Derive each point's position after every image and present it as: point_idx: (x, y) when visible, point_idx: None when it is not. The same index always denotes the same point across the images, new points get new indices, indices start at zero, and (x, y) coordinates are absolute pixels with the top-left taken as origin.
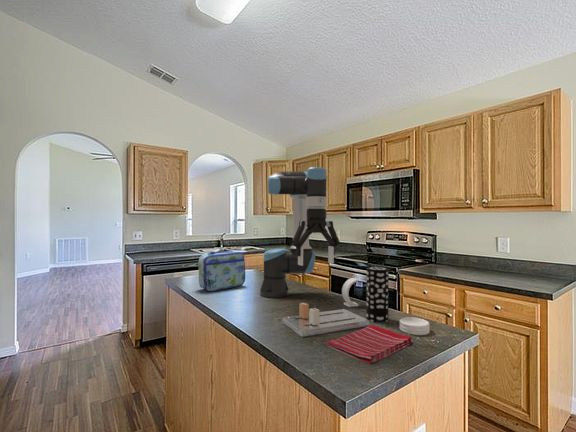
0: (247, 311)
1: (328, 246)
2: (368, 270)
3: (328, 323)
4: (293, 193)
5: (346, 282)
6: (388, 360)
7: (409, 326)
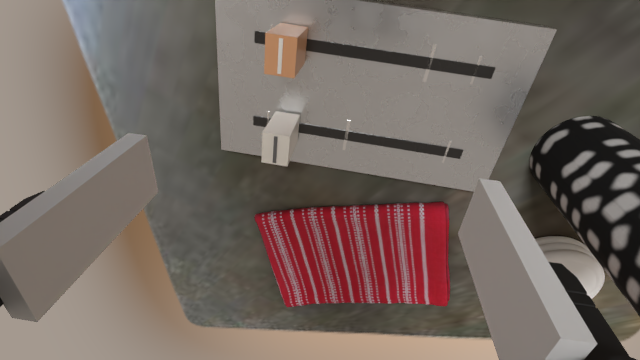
0: None
1: (556, 337)
2: None
3: (337, 143)
4: None
5: None
6: (325, 306)
7: None
